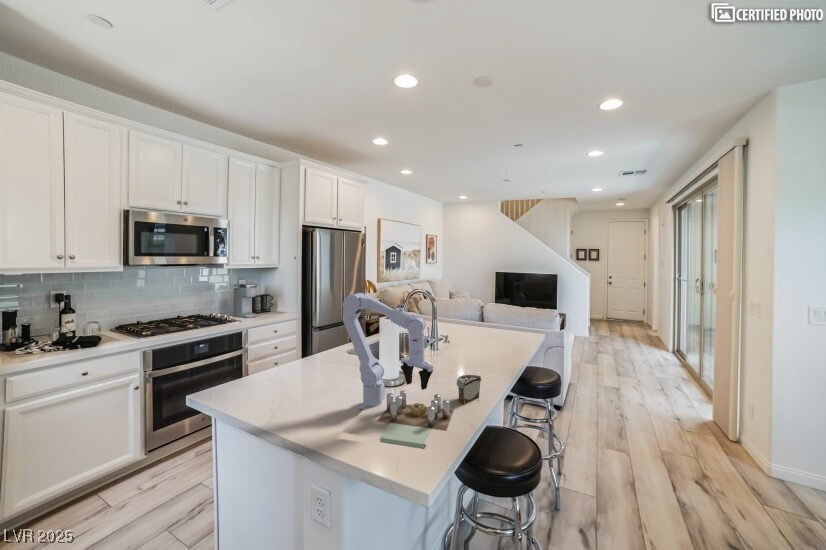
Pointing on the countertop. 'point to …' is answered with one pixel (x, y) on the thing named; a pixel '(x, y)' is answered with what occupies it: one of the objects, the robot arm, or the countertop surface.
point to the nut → (417, 409)
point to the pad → (405, 435)
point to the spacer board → (417, 419)
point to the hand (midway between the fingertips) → (416, 386)
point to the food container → (468, 388)
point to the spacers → (433, 410)
